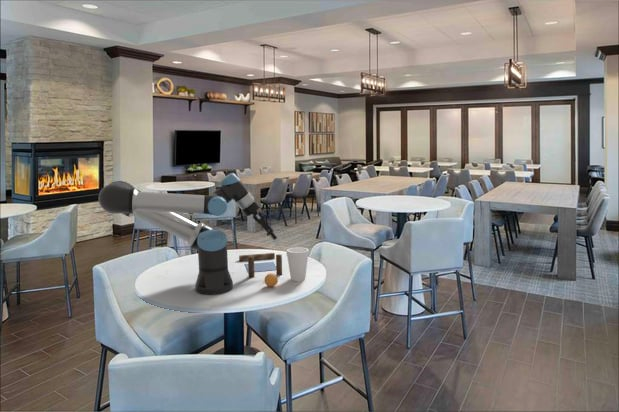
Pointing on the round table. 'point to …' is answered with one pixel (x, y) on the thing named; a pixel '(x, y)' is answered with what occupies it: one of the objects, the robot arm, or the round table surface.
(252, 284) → the round table surface
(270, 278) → the ball
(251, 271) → the post left
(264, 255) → the bar
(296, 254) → the foam cup
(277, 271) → the post right
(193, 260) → the round table surface
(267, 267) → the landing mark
